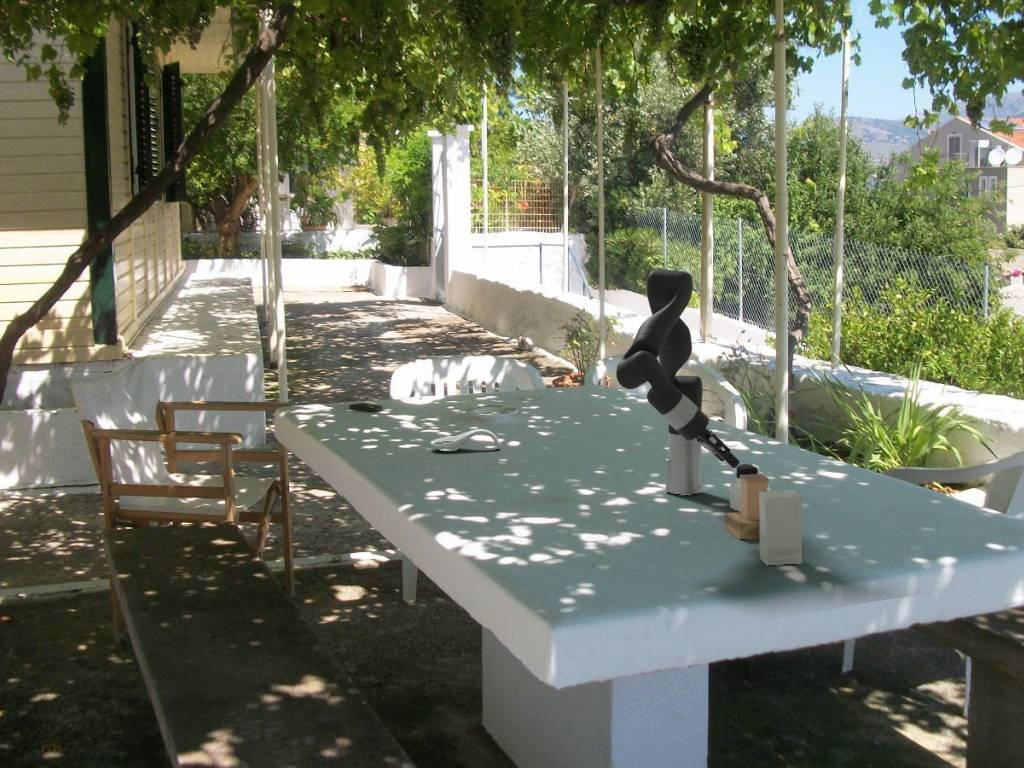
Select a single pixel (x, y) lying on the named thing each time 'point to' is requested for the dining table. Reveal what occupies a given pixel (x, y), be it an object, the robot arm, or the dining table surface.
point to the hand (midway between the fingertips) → (730, 461)
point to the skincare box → (780, 527)
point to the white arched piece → (463, 438)
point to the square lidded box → (752, 494)
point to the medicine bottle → (736, 485)
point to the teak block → (742, 526)
